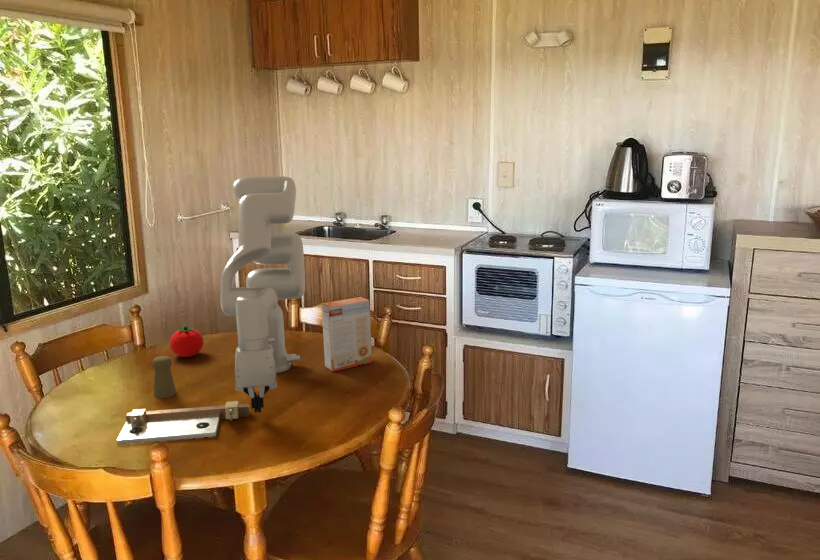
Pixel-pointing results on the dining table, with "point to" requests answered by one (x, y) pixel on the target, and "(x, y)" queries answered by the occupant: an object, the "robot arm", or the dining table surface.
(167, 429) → the hole plate
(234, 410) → the block
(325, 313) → the cracker box
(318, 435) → the dining table surface
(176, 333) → the tomato
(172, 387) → the salt shaker
